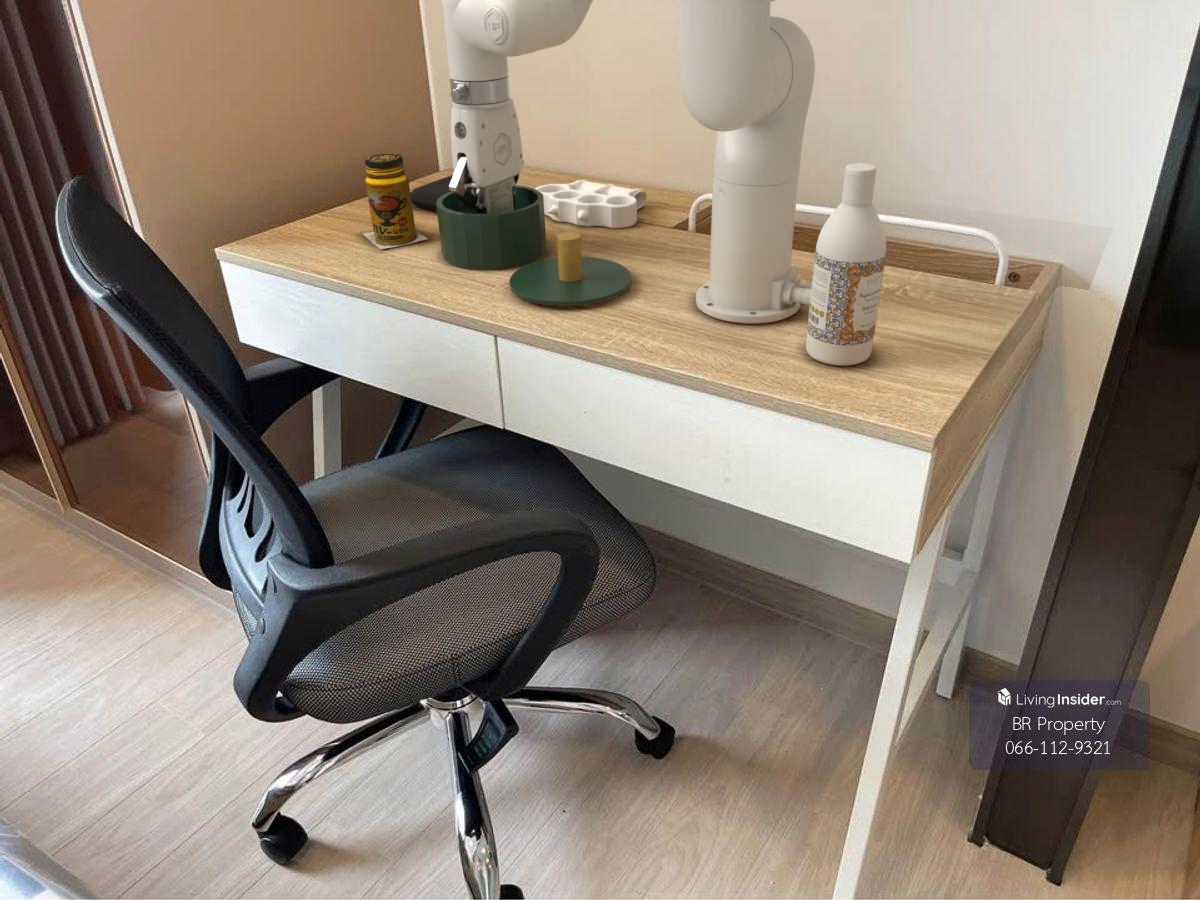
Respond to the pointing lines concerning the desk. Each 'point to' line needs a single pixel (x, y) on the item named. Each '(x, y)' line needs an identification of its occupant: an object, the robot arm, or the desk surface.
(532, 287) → the tin lid
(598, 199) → the knuckle duster
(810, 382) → the desk surface
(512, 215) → the tin
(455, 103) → the robot arm
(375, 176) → the condiment
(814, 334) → the bath foam
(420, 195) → the carrying case
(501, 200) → the white cardboard carton
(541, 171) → the desk surface
